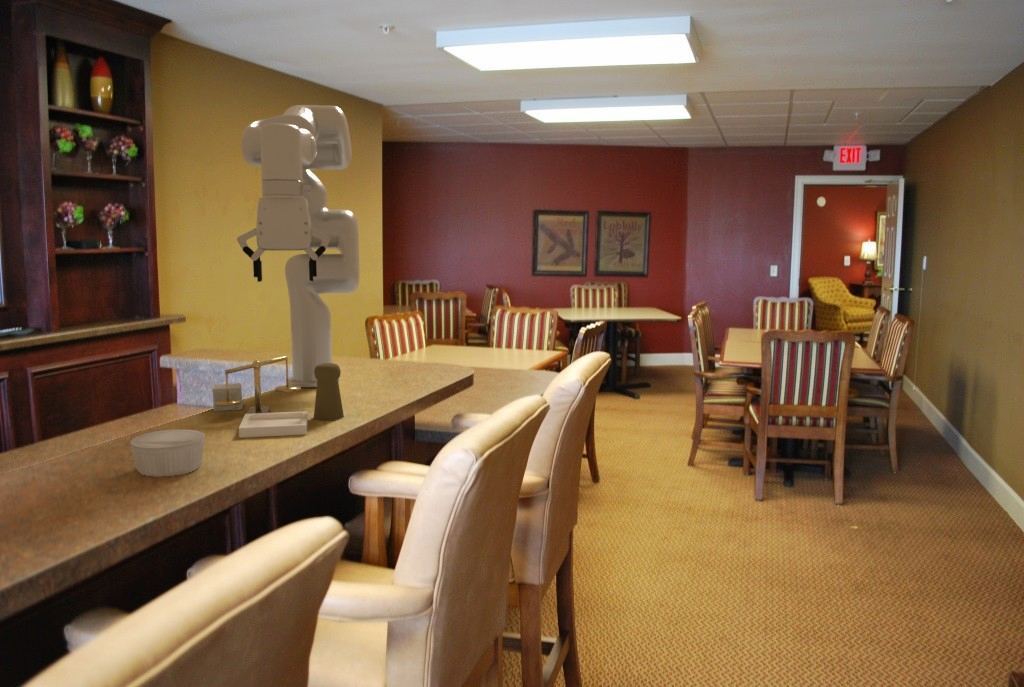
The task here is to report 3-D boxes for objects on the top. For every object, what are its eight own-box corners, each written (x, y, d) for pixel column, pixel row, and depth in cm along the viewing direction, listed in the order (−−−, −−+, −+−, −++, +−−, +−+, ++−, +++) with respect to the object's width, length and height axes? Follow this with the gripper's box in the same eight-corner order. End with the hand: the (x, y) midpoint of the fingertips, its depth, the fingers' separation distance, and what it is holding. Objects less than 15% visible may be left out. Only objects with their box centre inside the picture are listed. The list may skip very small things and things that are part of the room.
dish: (245, 422, 167) (245, 413, 167) (308, 420, 169) (307, 411, 169) (239, 437, 155) (238, 428, 155) (306, 434, 158) (306, 425, 157)
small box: (215, 406, 182) (213, 383, 182) (242, 405, 184) (241, 382, 183) (212, 412, 177) (211, 388, 176) (241, 410, 178) (240, 387, 178)
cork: (336, 421, 168) (335, 366, 167) (308, 419, 170) (306, 365, 168) (348, 414, 174) (347, 361, 173) (321, 413, 176) (319, 360, 174)
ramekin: (140, 484, 128) (138, 450, 127) (124, 467, 137) (122, 435, 136) (215, 472, 134) (214, 439, 133) (195, 456, 143) (193, 425, 142)
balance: (217, 414, 174) (214, 355, 172) (301, 410, 178) (299, 353, 176) (213, 420, 168) (210, 360, 167) (300, 417, 172) (298, 357, 170)
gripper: (328, 192, 167) (331, 279, 169) (236, 191, 163) (240, 280, 165) (329, 190, 159) (332, 281, 162) (233, 189, 155) (237, 282, 158)
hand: (285, 280), depth 163 cm, fingers open, 9 cm apart
